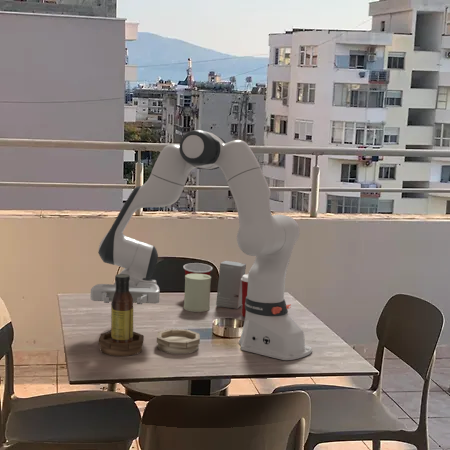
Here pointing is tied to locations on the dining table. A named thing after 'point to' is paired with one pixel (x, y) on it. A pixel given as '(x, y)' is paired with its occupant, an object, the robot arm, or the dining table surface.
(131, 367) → the dining table surface
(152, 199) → the robot arm
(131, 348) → the walnut ring seat
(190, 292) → the can
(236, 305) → the skincare box
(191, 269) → the plastic cup
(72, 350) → the dining table surface
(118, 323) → the sauce bottle
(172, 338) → the birch ring seat
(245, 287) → the paper cup
